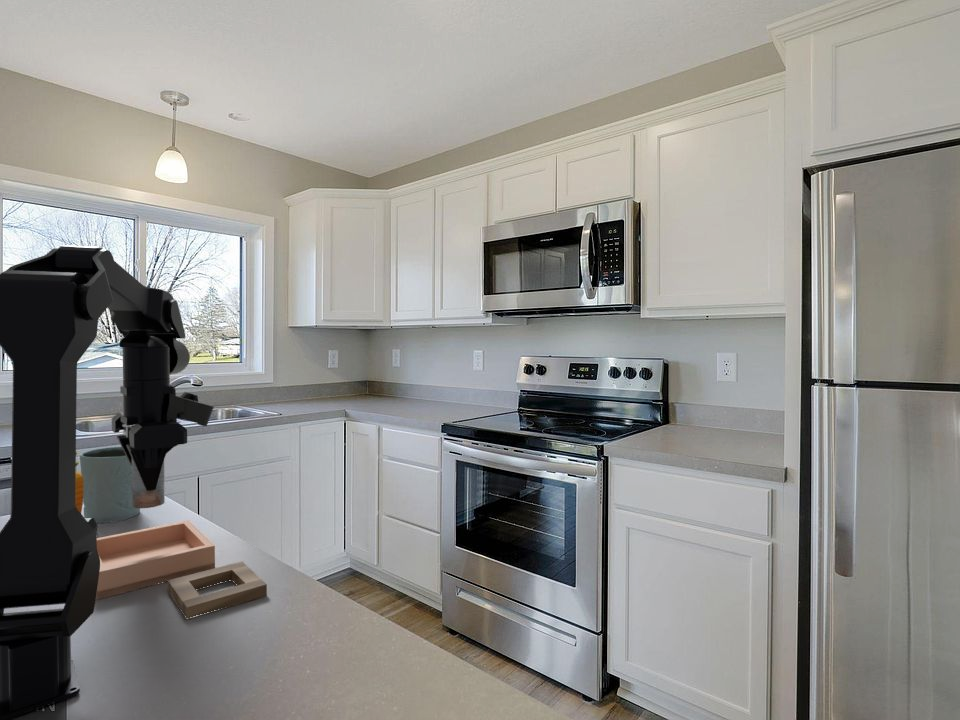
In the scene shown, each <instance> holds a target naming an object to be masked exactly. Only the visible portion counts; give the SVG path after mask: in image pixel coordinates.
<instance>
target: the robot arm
mask: <svg viewBox="0 0 960 720" xmlns="http://www.w3.org/2000/svg"><path fill="white" fill-rule="evenodd" d="M107 309H109V313H110V321H111V322H113V323H114V324H115V326H116V328H117V330H118V332H119V333H120V334H121V335H122V336H123V338H121V340H120V341H119V344H118V346H119V348H122V385H120V389H119V390H120V391H119V392H120V394H121V395H122V399H123V400H122V403H123V405H122V406H123V408H122V409H123V411H118V412H117V413H116V414H115V415H114V416H113V417H111V431H112V432H113V433H114V434H115V433H120V431H121V430H123V434H122V435H117V436H116V439H117V441H118V442H119V444H120V447H122V449H123V451H124V452H125V454H126V456H127V458H128V460H129V462H130V464H131V466H132V459H133V462H134V464H135V466H136V468H137V470H138V473H139V475H140V477H141V479H142V482H143V484H144V486H145V488H146V490H147V491H151V490H155V489H156V486H157V483H158V479H159V476H160V472H161V469H162V465H163V462H164V463H165V458H166V456H167V454H168V453H169V452H170V451H171V450H172V449H174V448H175V447H177V446H180V445H185V444H188V429H187V428H186V427H185V426H183V425H182V424H181V423H179V422H178V419H180V420H184V421H188V422H192V423H196V424H198V425H199V426H202V427H207V426H208V424H209V421H210V419H211V415H212V413H213V412H214V411H213V410H214V408H215V406H213V405H210V404H206V403H204V402H199V397H198V395H197V394H194V393H191V392H186V391H184V392H183V393H182V394H181V395H180V396H178V395H177V390H176V388H175V387H174V386H173V385H171V383H170V382H171V380H170V378H171V377H170V376H171V375H175V374H178V373H181V372H182V371H183V370H185V369H186V368H187V367H188V366H189V364H190V363H189V362H190V360H191V359H190V358H191V353H190V352H189V350H188V347H187V346H186V345H185V344H184V343H183V342H181V341H180V340H177V339H181V340H182V339H186V332H185V328H184V323H183V320H182V319H183V318H182V314H181V311H180V307H179V303H178V301H177V300H176V299H175V298H174V296H173V295H172V294H171V293H170V292H168V291H166V290H164V289H162V288H156V287H149V286H145V285H143V284H142V283H141V282H140V281H139V280H137V278H135V277H134V276H133V275H132V274H131V273H129V272H128V270H126V269H125V268H124V267H122V266H121V264H119V263H117V261H116V260H115V259H114V255H113V253H112V252H111V251H110V250H108V249H104V248H103V247H100V246H87V245H85V246H84V245H67V244H66V245H61V246H59V247H58V246H56V247H53V248H52V249H51V250H49V251H48V252H47V253H46V254H45V255H41V256H39V257H36V258H33V259H29V260H26V261H24V262H21V263H17V264H15V265H11V266H10V267H9V268H8V269H5V271H2V272H0V347H1V349H2V350H3V351H4V352H5V354H6V355H7V357H8V358H9V359H10V361H11V362H12V406H11V408H12V409H11V411H12V412H11V414H12V415H11V416H12V418H11V420H12V421H11V475H10V476H11V477H10V479H11V480H10V481H11V482H10V486H11V488H10V491H11V493H10V517H9V519H8V520H7V522H6V523H5V524H4V526H3V527H2V529H1V530H0V720H9V719H13V718H15V717H17V716H18V717H19V716H20V715H23V714H27V713H29V712H31V711H34V710H35V711H36V710H38V709H41V708H43V707H47V706H50V705H52V704H56V703H57V702H61V701H64V700H66V699H67V700H68V699H69V698H73V697H75V696H77V695H79V694H80V692H81V691H80V690H81V689H80V687H81V686H80V683H79V679H78V678H79V677H78V675H77V670H76V666H75V662H74V660H73V659H72V641H71V640H72V639H71V637H72V636H73V635H74V634H75V632H76V631H77V630H78V629H80V627H81V626H82V625H84V623H85V622H86V621H87V620H88V619H90V618H89V617H91V616H92V615H93V614H94V612H95V606H96V600H97V599H96V593H97V586H98V579H99V571H100V557H99V554H98V551H97V538H98V537H97V536H98V528H99V526H98V523H96V521H95V520H94V518H84V515H83V514H82V512H81V513H80V512H79V510H78V509H77V508H76V505H75V479H76V472H77V470H76V468H77V466H76V462H77V455H76V451H77V394H78V392H77V390H78V389H77V388H78V387H77V382H78V381H77V380H78V379H77V378H78V371H77V370H78V362H79V361H80V360H81V358H82V357H83V355H84V354H85V353H86V351H88V349H89V348H90V347H91V345H92V343H93V342H94V341H95V340H96V338H97V336H98V326H99V319H100V318H101V316H102V315H103V314H104V313H105V312H106V310H107ZM53 605H64V606H63V607H62V608H53V609H52V608H51V609H41V610H39V609H38V610H27V611H18V612H17V611H16V612H15V611H14V612H5V609H6V610H7V609H17V608H18V609H19V608H29V607H42V606H44V607H45V606H53Z"/></svg>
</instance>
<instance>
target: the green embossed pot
mask: <svg viewBox="0 0 960 720" xmlns="http://www.w3.org/2000/svg"><path fill="white" fill-rule="evenodd" d="M79 461H80V463H79V464H80V473H81V474H82V477H83V481H84V483H83V505H84V506H83V517H84V518H94V520H95V521H96V523H97V524H108V523H114V522H121V521H124V520H128V519H131V518H134V517H136V516H137V515H138V514H139V513H140V511H141V508H133V507H132V466H131V464H130V462H129V460H128V458H127V456H126V454H125V452H124V451H123V449H122V447H121V446H115V447H113V446H111V447H102V448H95V449H90V450H87V451H83V452H81V453H80V454H79Z"/></svg>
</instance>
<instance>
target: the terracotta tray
mask: <svg viewBox="0 0 960 720" xmlns="http://www.w3.org/2000/svg"><path fill="white" fill-rule="evenodd" d="M215 549H216V545H215V544H214V543H213V542H212V541H211V540H210V539H208V537H207V536H205V534H203V532H201V530H199V529H198V528H197V526H195V525H194V524H193V523H192V522H191V521H190V520H184V521H183V520H182V521H179V522H174V523H168V524H163V525H157V526H153V527H152V526H151V527H148V528H142V529H138V530H137V529H136V530H131V531H127V532H122V533H117V534H112V535H111V534H110V535H107V536H100V537H97V551H98V554H99V557H100V571H99V579H98V586H97V593H96V600H102V599H106V598H108V597H113V596H117V595H120V594H123V593H128V592H132V591H137V590H140V589H139V588H141V589H143V588H142V587H144V588H147V587H146V586H148V587H151V586H150V585H152V586H155V585H154V584H156V585H159V584H158V583H160V584H163V583H162V582H164V583H167V582H166V581H168V580H171V579H175V578H179V577H183V576H187V575H191V574H195V573H199V572H203V571H207V570H211V569H214V568H216V556H215V555H216V552H215V551H216V550H215ZM136 589H137V590H136Z"/></svg>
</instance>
